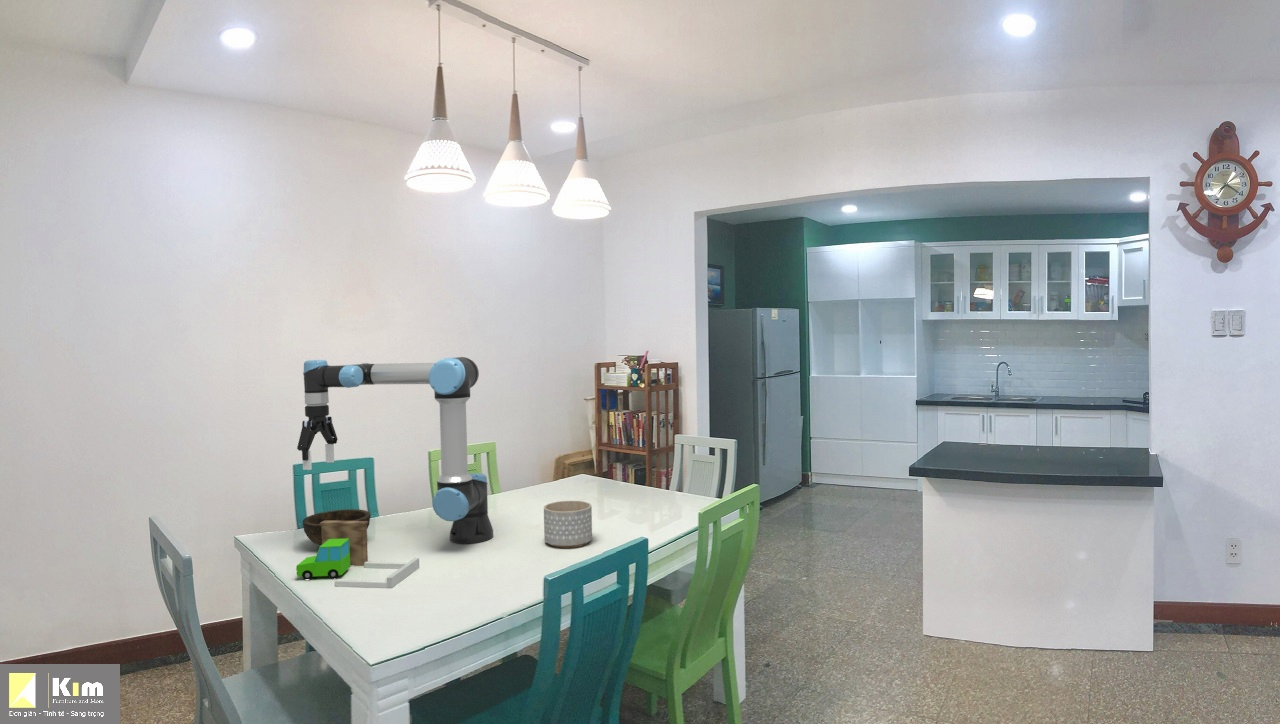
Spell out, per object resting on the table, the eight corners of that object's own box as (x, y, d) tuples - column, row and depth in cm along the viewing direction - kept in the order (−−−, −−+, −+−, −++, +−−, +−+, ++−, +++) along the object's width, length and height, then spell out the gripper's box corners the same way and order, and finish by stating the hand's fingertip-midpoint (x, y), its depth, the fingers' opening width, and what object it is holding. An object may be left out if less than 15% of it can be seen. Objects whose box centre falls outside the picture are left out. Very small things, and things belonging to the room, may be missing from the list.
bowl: (304, 558, 233) (303, 528, 233) (302, 542, 253) (301, 514, 252) (375, 548, 243) (374, 519, 243) (367, 533, 263) (366, 506, 262)
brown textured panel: (369, 563, 227) (368, 521, 227) (364, 566, 224) (363, 523, 224) (326, 562, 229) (324, 520, 229) (321, 565, 226) (319, 522, 226)
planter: (602, 541, 247) (601, 505, 246) (566, 552, 235) (565, 514, 234) (570, 533, 258) (569, 498, 257) (534, 543, 246) (533, 506, 245)
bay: (419, 567, 222) (419, 558, 222) (391, 588, 204) (391, 577, 204) (366, 566, 224) (366, 556, 224) (334, 586, 206) (334, 576, 206)
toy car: (307, 571, 221) (306, 539, 221) (351, 569, 222) (350, 537, 222) (294, 582, 211) (293, 548, 210) (340, 580, 212) (339, 547, 212)
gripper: (327, 401, 258) (329, 459, 259) (284, 408, 234) (286, 472, 234) (346, 401, 257) (348, 459, 258) (305, 408, 233) (307, 472, 233)
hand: (319, 466), depth 246 cm, fingers open, 13 cm apart
